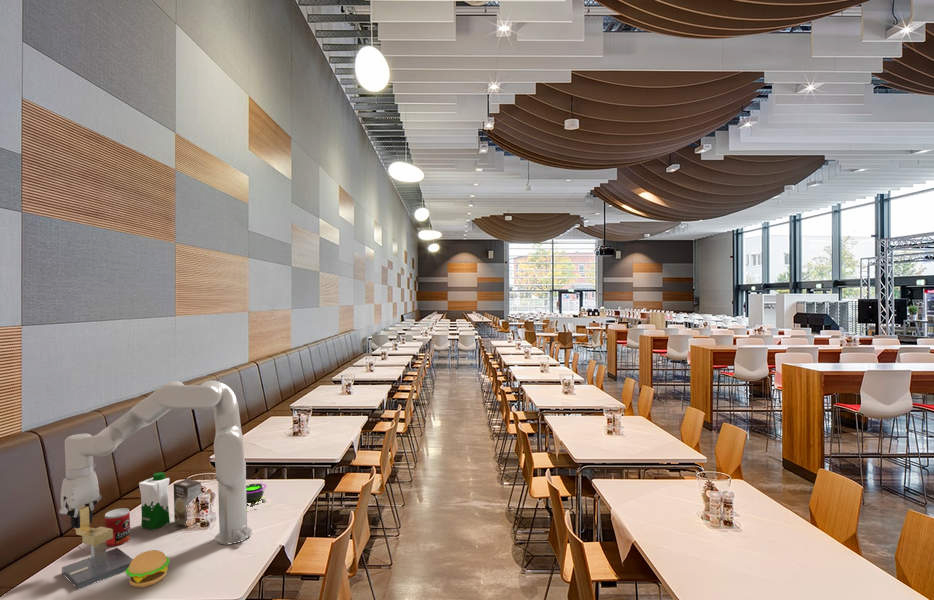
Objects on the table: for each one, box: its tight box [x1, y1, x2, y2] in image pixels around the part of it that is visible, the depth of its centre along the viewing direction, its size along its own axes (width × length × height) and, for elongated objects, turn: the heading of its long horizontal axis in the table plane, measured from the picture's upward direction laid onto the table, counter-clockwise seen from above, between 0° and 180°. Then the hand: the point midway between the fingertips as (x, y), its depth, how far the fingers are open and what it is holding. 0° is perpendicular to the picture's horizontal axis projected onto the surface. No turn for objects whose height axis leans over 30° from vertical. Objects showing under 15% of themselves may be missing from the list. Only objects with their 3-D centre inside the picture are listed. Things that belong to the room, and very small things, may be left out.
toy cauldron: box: [246, 477, 268, 507], centre depth 223 cm, size 15×15×11 cm
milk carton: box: [138, 471, 171, 531], centre depth 204 cm, size 9×9×20 cm
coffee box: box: [173, 478, 202, 526], centre depth 206 cm, size 9×6×16 cm
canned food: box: [104, 507, 131, 547], centre depth 191 cm, size 8×8×11 cm
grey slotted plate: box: [61, 542, 134, 590], centre depth 171 cm, size 16×16×9 cm
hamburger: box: [125, 549, 170, 588], centre depth 165 cm, size 12×12×9 cm
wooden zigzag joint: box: [73, 505, 113, 547], centre depth 172 cm, size 12×6×10 cm, turn 68°
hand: (82, 524), depth 174 cm, fingers closed on wooden zigzag joint, 3 cm apart
